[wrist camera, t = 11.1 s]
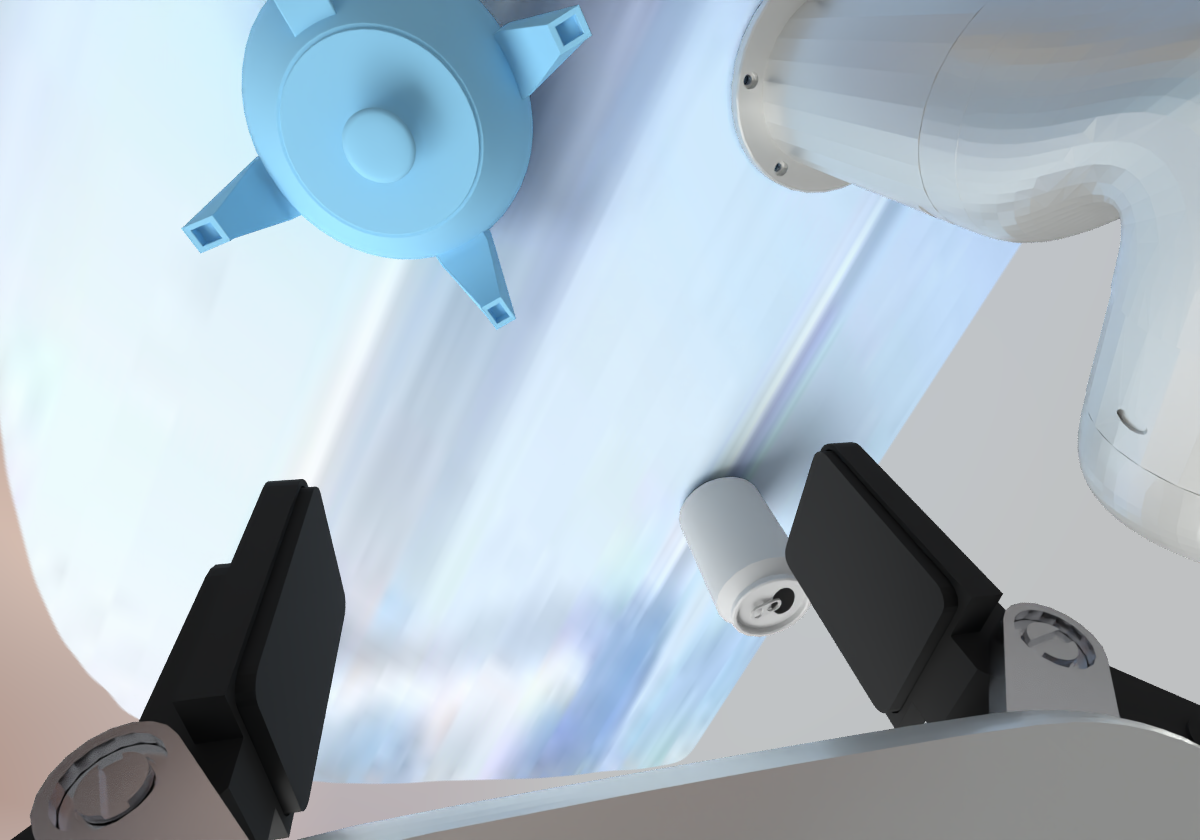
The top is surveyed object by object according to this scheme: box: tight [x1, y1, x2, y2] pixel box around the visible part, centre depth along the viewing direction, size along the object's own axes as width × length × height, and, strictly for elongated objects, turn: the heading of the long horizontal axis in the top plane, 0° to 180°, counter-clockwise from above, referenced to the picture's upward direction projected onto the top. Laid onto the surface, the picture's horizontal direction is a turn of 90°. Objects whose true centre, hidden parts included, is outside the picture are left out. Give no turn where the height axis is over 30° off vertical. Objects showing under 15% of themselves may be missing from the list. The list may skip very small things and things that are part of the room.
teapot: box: [181, 0, 592, 330], centre depth 29 cm, size 15×15×11 cm
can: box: [679, 477, 811, 637], centre depth 49 cm, size 8×8×12 cm
